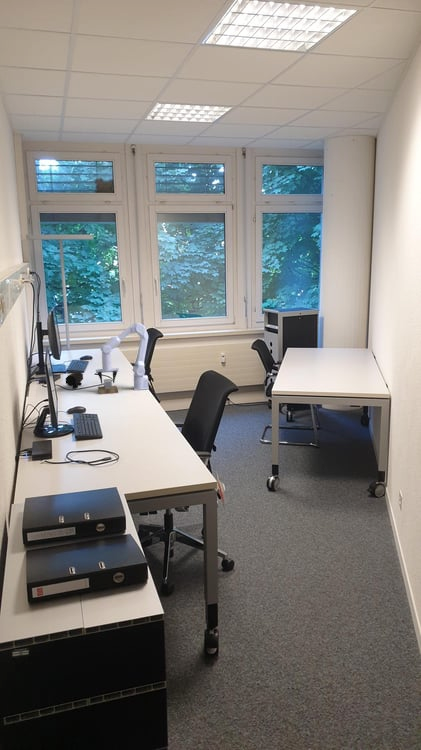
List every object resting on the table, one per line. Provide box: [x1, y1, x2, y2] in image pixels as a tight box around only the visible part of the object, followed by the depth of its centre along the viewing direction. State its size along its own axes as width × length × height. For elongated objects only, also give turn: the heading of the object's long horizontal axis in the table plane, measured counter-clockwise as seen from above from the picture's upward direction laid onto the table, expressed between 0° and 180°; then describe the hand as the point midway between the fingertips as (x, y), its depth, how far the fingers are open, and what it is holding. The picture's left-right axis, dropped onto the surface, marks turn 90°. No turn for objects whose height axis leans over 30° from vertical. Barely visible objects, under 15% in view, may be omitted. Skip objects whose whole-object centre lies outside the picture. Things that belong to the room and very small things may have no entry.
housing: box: [103, 378, 113, 389], centre depth 357 cm, size 8×4×5 cm, turn 14°
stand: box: [97, 385, 119, 395], centre depth 358 cm, size 12×12×2 cm
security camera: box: [65, 370, 84, 390], centre depth 369 cm, size 7×18×10 cm, turn 174°
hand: (107, 383), depth 357 cm, fingers open, 7 cm apart
